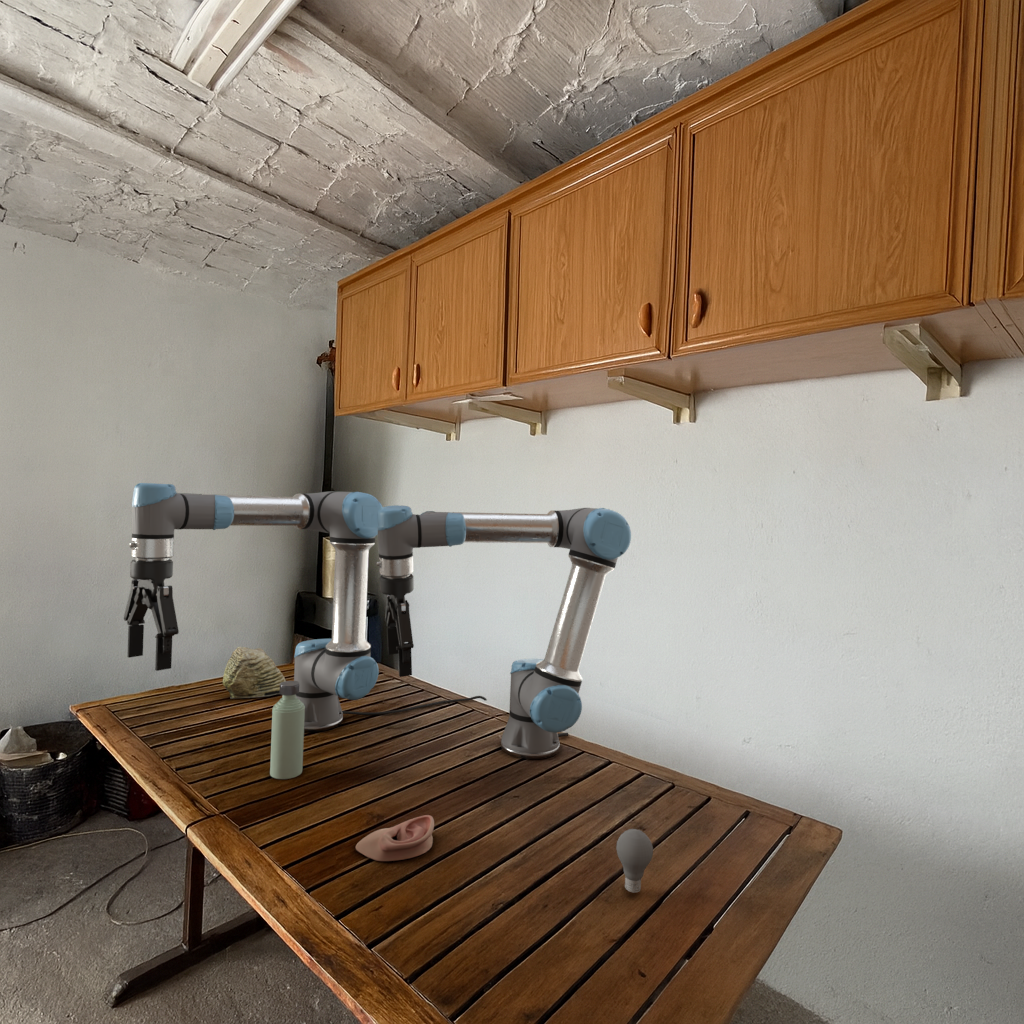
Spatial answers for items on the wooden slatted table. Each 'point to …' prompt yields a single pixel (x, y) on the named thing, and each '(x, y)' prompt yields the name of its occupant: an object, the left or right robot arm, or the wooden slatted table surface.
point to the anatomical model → (399, 840)
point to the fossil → (251, 674)
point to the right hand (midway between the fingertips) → (399, 664)
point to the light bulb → (634, 857)
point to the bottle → (287, 738)
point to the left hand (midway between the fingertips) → (148, 662)
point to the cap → (289, 688)
